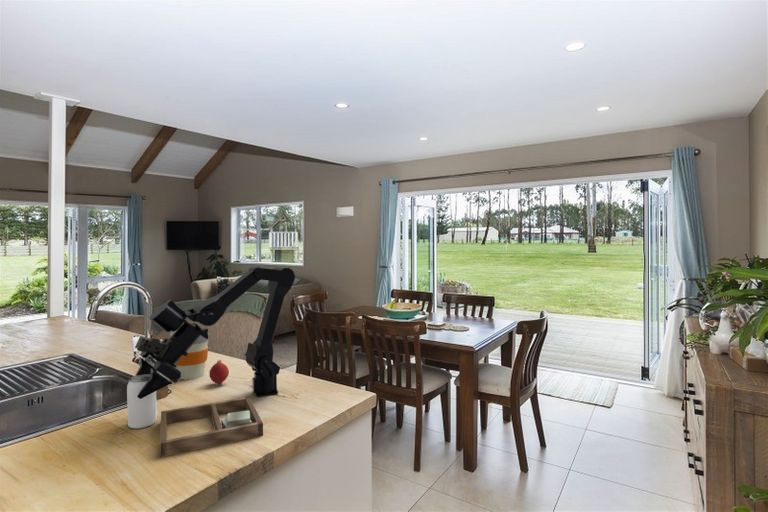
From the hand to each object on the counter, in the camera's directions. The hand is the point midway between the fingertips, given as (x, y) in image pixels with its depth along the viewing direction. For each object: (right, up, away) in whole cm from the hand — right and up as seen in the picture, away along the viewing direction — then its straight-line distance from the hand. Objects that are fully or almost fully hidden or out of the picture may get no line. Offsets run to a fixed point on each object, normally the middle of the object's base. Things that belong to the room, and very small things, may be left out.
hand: (134, 392), depth 107 cm
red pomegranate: (+10, -7, +30) cm, 33 cm away
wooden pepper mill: (-6, -8, +20) cm, 23 cm away
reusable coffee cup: (-4, -7, +39) cm, 40 cm away
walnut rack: (+20, -9, -1) cm, 22 cm away
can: (+1, -9, +1) cm, 9 cm away
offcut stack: (+27, -9, -3) cm, 29 cm away
